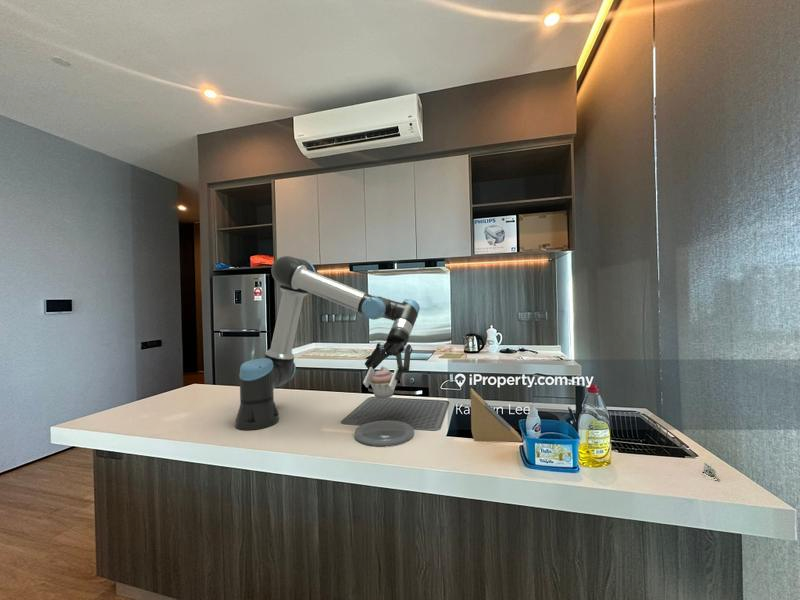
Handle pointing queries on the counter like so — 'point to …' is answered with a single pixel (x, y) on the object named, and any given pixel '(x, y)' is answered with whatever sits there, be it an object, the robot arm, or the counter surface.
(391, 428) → the slate plate
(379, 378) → the cupcake
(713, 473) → the small metal piece
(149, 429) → the counter surface
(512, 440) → the sandwich container
